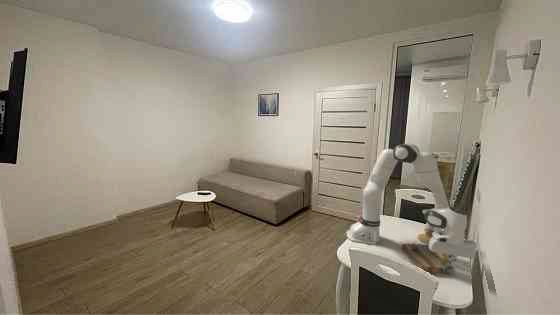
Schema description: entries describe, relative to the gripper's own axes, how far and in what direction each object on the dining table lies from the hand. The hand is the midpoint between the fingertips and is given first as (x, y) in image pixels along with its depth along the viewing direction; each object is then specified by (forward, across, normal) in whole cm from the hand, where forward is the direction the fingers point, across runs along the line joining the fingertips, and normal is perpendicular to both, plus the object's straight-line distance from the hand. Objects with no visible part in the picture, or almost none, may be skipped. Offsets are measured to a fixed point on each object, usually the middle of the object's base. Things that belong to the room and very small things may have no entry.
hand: (449, 261), depth 116 cm
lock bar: (+1, +4, -2) cm, 4 cm away
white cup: (+5, -8, -41) cm, 42 cm away
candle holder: (+5, -1, -31) cm, 32 cm away
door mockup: (+5, +10, -5) cm, 12 cm away
